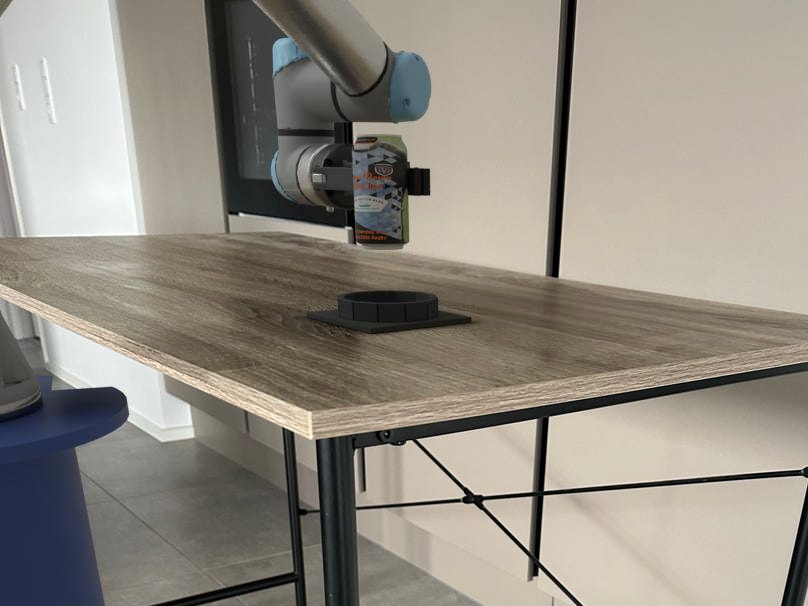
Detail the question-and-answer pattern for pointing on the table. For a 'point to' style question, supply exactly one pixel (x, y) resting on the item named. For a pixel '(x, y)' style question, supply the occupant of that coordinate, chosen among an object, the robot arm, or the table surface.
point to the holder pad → (388, 326)
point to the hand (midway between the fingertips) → (422, 182)
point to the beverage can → (381, 191)
